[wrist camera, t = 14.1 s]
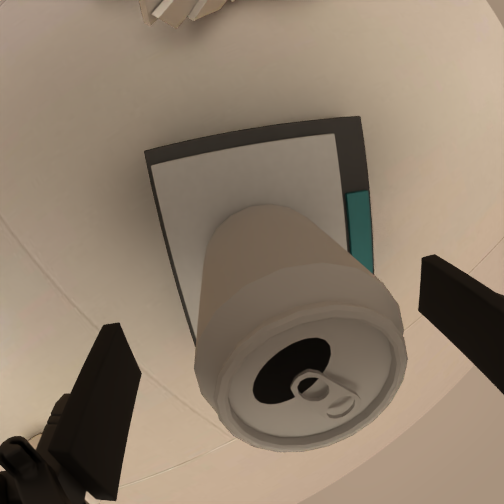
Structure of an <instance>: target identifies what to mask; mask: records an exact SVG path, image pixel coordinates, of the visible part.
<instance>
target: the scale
mask: <svg viewBox="0 0 504 504" xmlns="http://www.w3.org/2000/svg"><path fill="white" fill-rule="evenodd" d="M144 154H145V159H146V163H147V168H148V173H149V178H150V182H151V187H152V191H153V196H154V200H155V204H156V209H157V213H158V217H159V221H160V225H161V229H162V233H163V237H164V241H165V245H166V249H167V252H168V256H169V260H170V264H171V267H172V271H173V275H174V278H175V282H176V285H177V289H178V292H179V296H180V299H181V302H182V306H183V309H184V312H185V316H186V319H187V322H188V325H189V329H190V332H191V335H192V338H193V341H194V344H195V347H196V337H197V325H198V314H199V303H200V292H201V282H202V272H203V264H204V258H205V252H206V247H207V245H208V243H209V241H210V239H211V238H212V236H213V234H214V232H215V230H216V229H217V228H218V227H219V226H220V225H221V224H222V223H223V222H224V221H226V220H227V219H228V218H229V217H230V216H231V215H233V214H235V213H237V212H239V211H242V210H244V209H246V208H248V207H251V206H259V205H267V204H273V205H278V206H283V207H288V208H291V209H293V210H295V211H297V212H298V213H300V214H302V215H304V216H305V217H307V218H308V219H310V220H311V221H312V222H313V223H314V224H316V225H317V226H318V227H319V228H320V229H321V230H323V231H324V232H325V233H326V234H327V235H329V236H330V237H331V238H332V239H333V240H334V241H336V242H337V243H338V244H339V245H340V246H341V247H343V248H344V249H345V250H346V251H347V252H348V253H350V254H351V255H352V256H353V257H354V258H355V259H356V260H358V261H359V262H360V263H361V264H362V265H363V266H364V267H365V268H367V269H368V270H369V271H370V272H371V273H372V274H373V275H374V257H373V233H372V217H371V203H370V191H369V180H368V171H367V162H366V153H365V145H364V138H363V131H362V124H361V117H360V116H353V117H340V118H329V119H319V120H309V121H300V122H292V123H284V124H277V125H270V126H263V127H257V128H250V129H244V130H239V131H233V132H227V133H222V134H217V135H212V136H207V137H202V138H197V139H192V140H187V141H183V142H179V143H174V144H170V145H166V146H162V147H157V148H153V149H150V150H146V151H144Z"/></svg>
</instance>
